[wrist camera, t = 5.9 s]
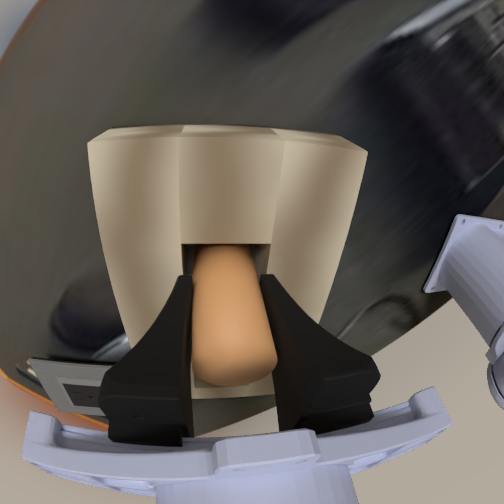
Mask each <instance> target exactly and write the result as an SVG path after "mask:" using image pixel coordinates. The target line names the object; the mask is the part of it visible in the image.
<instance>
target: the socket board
mask: <svg viewBox="0 0 504 504" xmlns="http://www.w3.org/2000/svg"><path fill="white" fill-rule="evenodd" d="M87 144H88V155H89V165H90V174H91V182H92V190H93V197H94V203H95V209H96V215H97V221H98V226H99V232H100V237H101V242H102V246H103V251H104V255H105V260H106V264H107V268H108V272H109V276H110V280H111V284H112V288H113V291H114V295H115V299H116V302H117V306H118V309H119V312H120V316H121V319H122V322H123V325H124V328H125V331H126V334H127V337H128V340H129V343H130V346H131V349H132V348H133V347H134V346H135V345H136V344H137V343H138V342H139V340H140V339H141V338H142V337H143V336H144V334H145V333H146V332H147V331H148V329H149V328H150V327H151V325H152V324H153V323H154V321H155V320H156V318H157V317H158V315H159V313H160V312H161V310H162V309H163V307H164V305H165V303H166V301H167V300H168V298H169V296H170V294H171V292H172V290H173V287H174V285H175V283H176V280H177V277H178V276H179V275H192V277H193V261H194V252H195V249H196V247H197V245H198V244H249V246H250V248H251V252H252V256H253V260H254V264H255V268H256V272H257V276H258V280H259V282H260V275H261V274H274V275H275V277H276V278H277V279H278V281H279V282H280V283H281V285H282V286H283V287H284V288H285V290H286V291H287V292H288V293H289V295H290V296H291V297H292V298H293V299H294V300H295V302H296V303H297V304H298V305H299V306H300V307H301V308H302V309H303V310H304V311H305V312H306V313H307V314H308V315H309V316H310V317H311V318H312V319H313V320H314V321H315V322H316V323H317V324H319V321H320V318H321V315H322V312H323V310H324V307H325V304H326V301H327V298H328V295H329V292H330V289H331V286H332V283H333V280H334V277H335V274H336V271H337V267H338V264H339V261H340V258H341V254H342V251H343V248H344V244H345V241H346V237H347V234H348V230H349V227H350V223H351V219H352V216H353V212H354V208H355V204H356V201H357V197H358V193H359V189H360V184H361V180H362V176H363V172H364V167H365V163H366V158H367V154H368V152H367V151H365V150H364V149H362V148H360V147H359V146H357V145H355V144H353V143H351V142H350V141H348V140H346V139H344V138H342V137H340V136H339V135H335V134H328V133H321V132H314V131H306V130H298V129H289V128H278V127H267V126H253V125H235V124H154V125H136V126H123V127H112V128H111V129H109V130H107V131H106V132H104V133H102V134H101V135H99V136H97V137H96V138H94V139H93V140H91V141H90V142H88V143H87ZM270 394H275V392H274V385H273V378H272V372H271V373H269V374H268V375H267V376H265V377H264V378H262V379H260V380H258V381H256V382H253V383H249V384H245V385H240V386H220V385H214V384H211V383H208V382H205V381H203V380H202V379H200V378H199V377H197V376H196V375H195V373H194V372H193V369H192V356H191V395H192V399H198V398H230V397H246V396H259V395H270Z"/></svg>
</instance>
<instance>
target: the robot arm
mask: <svg viewBox="0 0 504 504" xmlns="http://www.w3.org/2000/svg"><path fill="white" fill-rule="evenodd" d="M259 284H260V289H261V293H262V297H263V301H264V305H265V309H266V313H267V317H268V321H269V326H270V330H271V334H272V338H273V342H274V346H275V350H276V354H277V364H276V366H275V368H274V369H273V371H272V378H273V385H274V392H275V399H276V406H277V414H278V423H279V432H273V433H265V434H256V435H244V436H232V437H210V438H194V427H193V413H192V395H191V356H192V300H193V277H192V275H179V276H178V277H177V280H176V283H175V285H174V287H173V290H172V292H171V294H170V296H169V298H168V300H167V301H166V303H165V305H164V307H163V309H162V310H161V312H160V313H159V315H158V317H157V318H156V320H155V321H154V323H153V324H152V325H151V327H150V328H149V329H148V331H147V332H146V333H145V334H144V336H143V337H142V338H141V339H140V340H139V342H138V343H137V344H136V345H135V346H134V347H133V348H132V349H131V350H130V351H129V352H128V353H127V354H126V355H125V356H124V357H123V358H122V359H121V360H119V361H118V362H117V363H116V364H115V365H113V366H112V367H111V368H110V369H108V370H107V371H106V372H105V374H104V376H103V379H102V382H101V385H100V389H99V395H98V402H97V404H98V406H99V408H100V409H101V410H102V412H103V413H104V414H105V416H106V417H107V418H108V419H109V428H108V432H103V431H97V430H91V429H85V428H80V427H74V426H69V425H65V424H61V422H60V421H59V420H58V419H57V418H55V417H54V416H51V415H48V414H44V413H40V412H37V411H30V415H29V419H28V424H27V428H26V433H25V438H24V444H23V450H22V456H21V457H22V458H23V459H24V460H26V461H28V462H29V463H31V464H33V465H34V466H36V467H38V468H40V469H42V470H44V471H45V472H47V473H49V474H52V475H55V476H59V477H62V478H65V479H69V480H72V481H76V482H80V483H83V484H87V485H91V486H95V487H100V488H104V489H109V490H114V491H119V492H124V493H130V494H136V495H143V496H151V497H156V504H359V503H358V499H357V496H356V492H355V489H354V486H353V482H352V479H351V475H352V474H355V473H358V472H361V471H364V470H367V469H369V468H372V467H374V466H377V465H379V464H382V463H384V462H386V461H389V460H391V459H394V458H396V457H398V456H400V455H403V454H405V453H407V452H409V451H411V450H414V449H416V448H418V447H420V446H422V445H424V444H426V443H428V442H429V441H430V440H432V439H433V438H435V437H436V436H437V435H439V434H440V433H441V432H443V431H444V430H446V429H447V428H448V427H449V426H451V425H452V421H451V419H450V417H449V414H448V413H447V410H446V409H445V406H444V404H443V402H442V400H441V398H440V396H439V394H438V392H437V390H436V388H435V387H434V386H432V387H430V388H427V389H424V390H422V391H419V392H417V393H416V394H414V395H413V396H412V397H411V398H410V399H409V401H407V402H404V403H401V404H398V405H395V406H392V407H389V408H386V409H383V410H379V411H376V412H373V411H372V409H371V406H370V404H369V403H370V402H371V397H370V395H369V393H370V392H371V391H372V390H373V388H374V387H375V386H376V385H377V383H378V381H379V380H380V376H381V375H380V373H379V371H378V368H377V366H376V364H375V362H374V361H373V359H372V357H370V356H368V355H366V354H364V353H362V352H360V351H358V350H356V349H354V348H352V347H350V346H349V345H347V344H345V343H344V342H342V341H340V340H339V339H337V338H336V337H334V336H333V335H332V334H330V333H329V332H327V331H326V330H325V329H323V328H322V327H321V326H320V325H319V324H317V323H316V322H315V321H314V320H313V319H312V318H311V317H310V316H309V315H308V314H307V313H306V312H305V311H304V310H303V309H302V308H301V307H300V306H299V305H298V304H297V303H296V302H295V300H294V299H293V298H292V297H291V296H290V295H289V293H288V292H287V291H286V290H285V288H284V287H283V286H282V285H281V283H280V282H279V281H278V279H277V278H276V277H275V275H274V274H261V275H260V282H259ZM423 290H424V291H425V293H430V292H438V291H445V290H447V291H448V292H449V293H450V294H451V296H452V297H453V298H454V299H455V301H456V302H457V303H458V305H459V306H460V307H461V308H462V310H463V311H464V312H465V314H466V315H467V316H468V317H469V319H470V320H471V322H472V323H473V324H474V326H475V327H476V329H477V330H478V331H479V333H480V334H481V336H482V337H483V339H484V340H485V342H486V343H487V344H488V346H489V347H490V349H489V350H488V352H487V353H486V357H487V358H488V360H489V361H490V363H489V365H488V368H487V379H488V385H489V389H490V392H491V394H492V396H493V398H494V400H495V401H496V403H497V404H498V405H499V406H500V407H501V408H502V409H503V410H504V221H501V220H495V219H488V218H482V217H475V216H468V215H461V214H458V215H457V216H456V217H455V218H454V220H453V223H452V226H451V228H450V231H449V233H448V236H447V238H446V240H445V243H444V245H443V247H442V250H441V252H440V254H439V256H438V259H437V261H436V263H435V265H434V267H433V269H432V271H431V273H430V276H429V278H428V280H427V282H426V284H425V286H424V288H423Z"/></svg>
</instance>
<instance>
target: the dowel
mask: <svg viewBox="0 0 504 504" xmlns="http://www.w3.org/2000/svg"><path fill="white" fill-rule="evenodd" d="M276 364H277V354H276V350H275V346H274V342H273V338H272V334H271V330H270V326H269V321H268V317H267V313H266V309H265V305H264V301H263V297H262V293H261V289H260V284H259V280H258V276H257V272H256V268H255V264H254V260H253V256H252V252H251V248H250V246H249V244H198V245H197V247H196V249H195V252H194V261H193V300H192V369H193V372H194V373H195V375H196V376H197V377H199V378H200V379H202V380H203V381H205V382H208V383H211V384H214V385H220V386H240V385H245V384H249V383H253V382H256V381H258V380H260V379H262V378H264V377H265V376H267V375H268V374H269V373H271V372H272V371H273V369H274V368H275V366H276Z"/></svg>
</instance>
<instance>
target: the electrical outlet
mask: <svg viewBox="0 0 504 504" xmlns="http://www.w3.org/2000/svg"><path fill="white" fill-rule="evenodd" d="M29 363H30V365H31V366H32V368H33V370H34V372H35V374H36V375H37V377H38V379H39V381H40V382H41V384H42V386H43V387H44V389H45V391H46V392H47V394H48V395H49V397H50V399H51V400H52V402H53V403H54V405H55V406H56V408H57V409H58V410H59V411H61V412H69V413H78V414H89V415H102V416H105V414H104V413H103V412H102V410H101V409H100V408H99V406H98V404H97V402H98V395H99V389H100V385H101V382H102V379H103V376H104V374H105V372H106V371H107V370H108V369H110V368H111V367H112V366H113V365H115V364H100V363H85V362H73V361H62V360H53V359H44V358H36V357H32V358H29Z"/></svg>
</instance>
